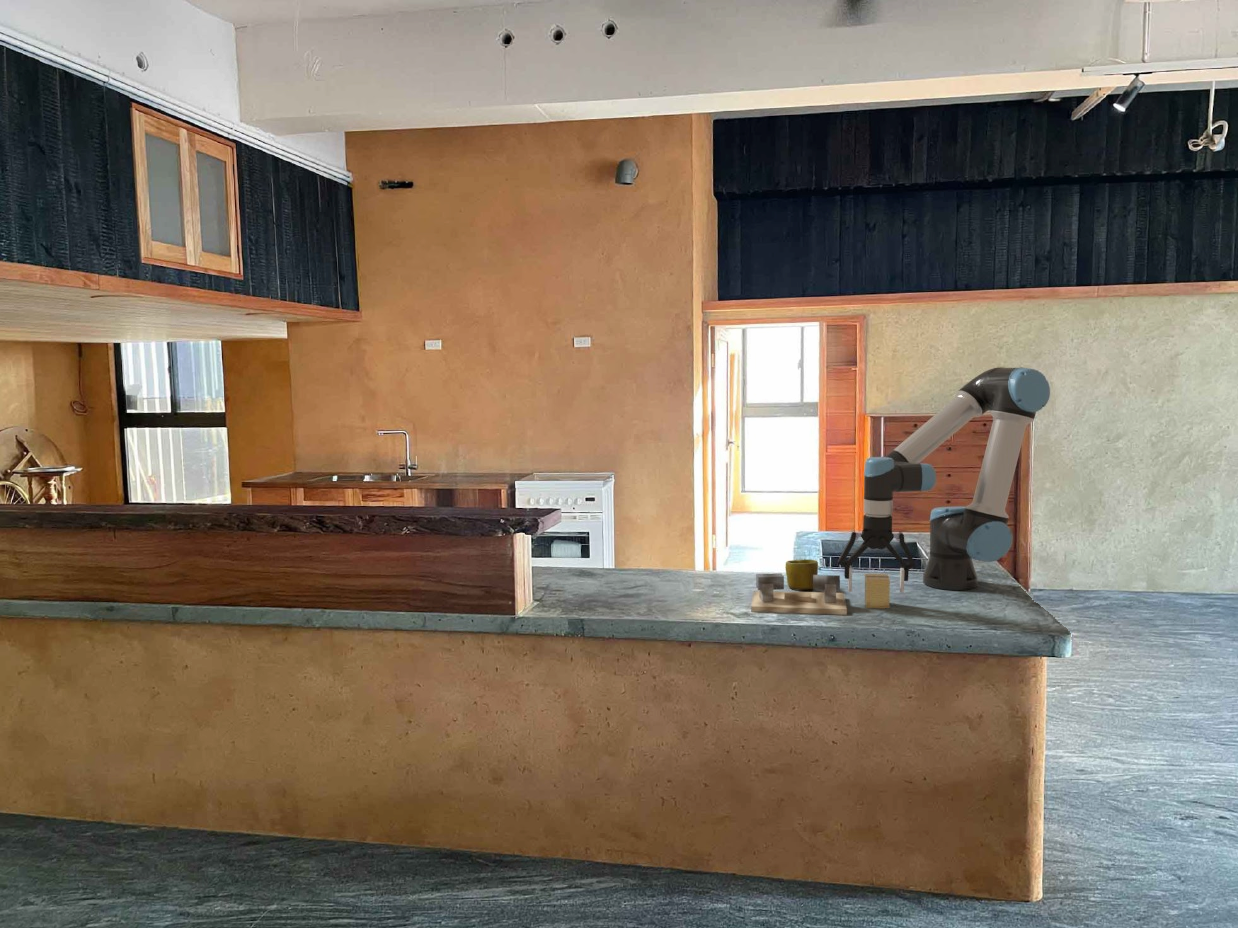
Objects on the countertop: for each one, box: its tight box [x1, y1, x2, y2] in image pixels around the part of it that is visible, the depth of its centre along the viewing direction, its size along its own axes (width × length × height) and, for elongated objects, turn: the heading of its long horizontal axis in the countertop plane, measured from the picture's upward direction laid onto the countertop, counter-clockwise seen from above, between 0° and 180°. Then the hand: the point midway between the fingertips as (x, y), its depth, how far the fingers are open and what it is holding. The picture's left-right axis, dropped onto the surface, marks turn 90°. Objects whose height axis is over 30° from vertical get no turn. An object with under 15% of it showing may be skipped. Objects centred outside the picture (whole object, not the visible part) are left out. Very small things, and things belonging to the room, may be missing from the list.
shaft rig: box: [750, 572, 848, 616], centre depth 246 cm, size 25×16×8 cm, turn 79°
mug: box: [785, 558, 819, 591], centre depth 265 cm, size 12×10×10 cm
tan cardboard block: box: [864, 573, 891, 609], centre depth 244 cm, size 6×6×8 cm
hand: (875, 591), depth 244 cm, fingers open, 13 cm apart
